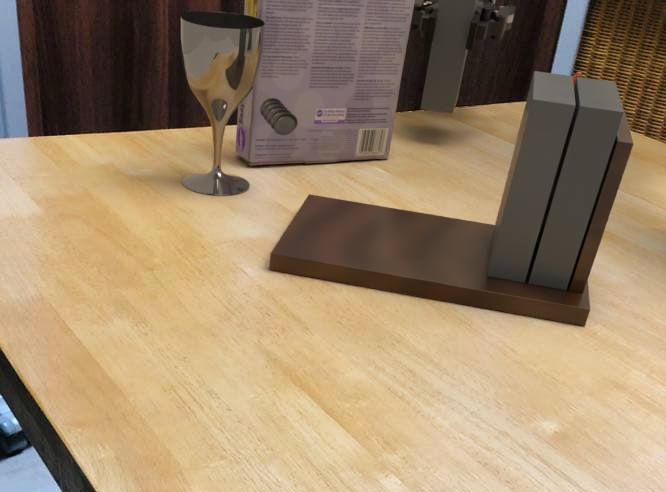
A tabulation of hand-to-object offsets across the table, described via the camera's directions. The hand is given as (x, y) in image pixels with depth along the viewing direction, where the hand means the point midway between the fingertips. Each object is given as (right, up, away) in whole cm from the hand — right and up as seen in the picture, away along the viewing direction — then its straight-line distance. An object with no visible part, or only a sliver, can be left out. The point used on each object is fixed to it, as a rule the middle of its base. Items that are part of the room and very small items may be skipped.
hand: (450, 33), depth 98 cm
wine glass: (-26, -20, -7) cm, 34 cm away
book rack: (-6, -32, -19) cm, 38 cm away
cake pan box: (-15, -14, +2) cm, 20 cm away
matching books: (+2, -33, -21) cm, 39 cm away
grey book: (+1, -3, +10) cm, 10 cm away
